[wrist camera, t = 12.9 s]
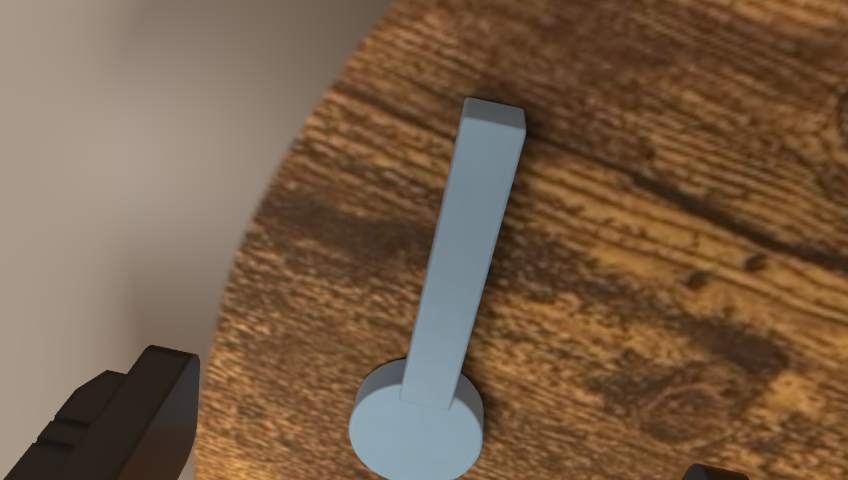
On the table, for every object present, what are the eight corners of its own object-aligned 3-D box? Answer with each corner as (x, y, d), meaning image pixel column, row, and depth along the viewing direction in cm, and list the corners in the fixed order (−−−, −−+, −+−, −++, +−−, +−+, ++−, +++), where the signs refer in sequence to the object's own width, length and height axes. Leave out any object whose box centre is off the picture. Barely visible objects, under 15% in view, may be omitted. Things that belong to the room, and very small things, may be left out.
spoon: (414, 84, 16) (406, 104, 15) (575, 119, 16) (583, 142, 15) (347, 442, 21) (337, 482, 20) (468, 468, 21) (465, 509, 20)
